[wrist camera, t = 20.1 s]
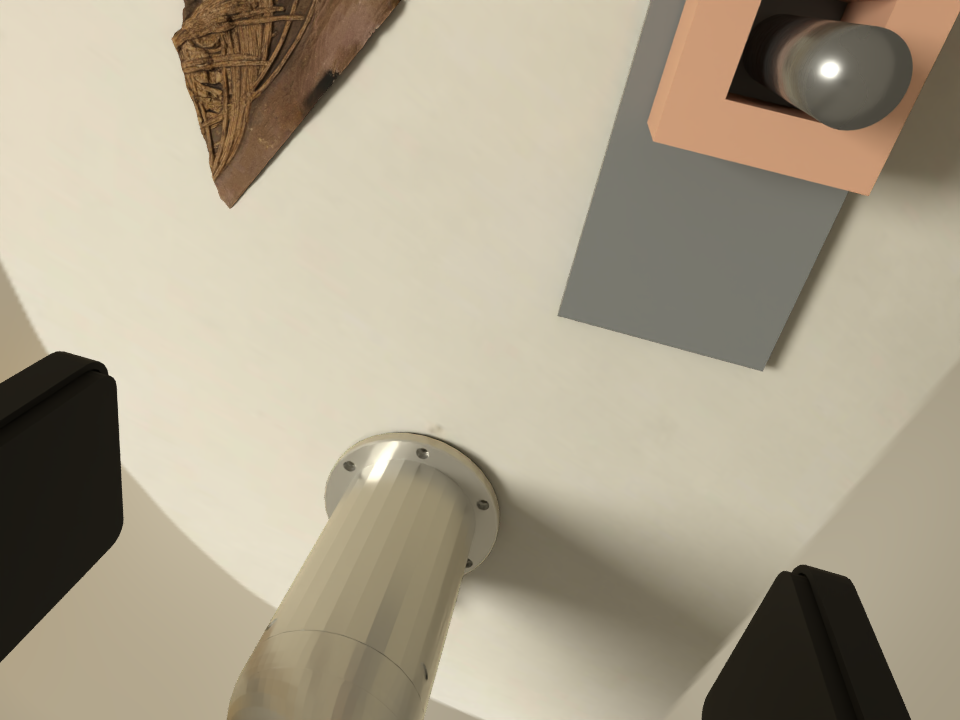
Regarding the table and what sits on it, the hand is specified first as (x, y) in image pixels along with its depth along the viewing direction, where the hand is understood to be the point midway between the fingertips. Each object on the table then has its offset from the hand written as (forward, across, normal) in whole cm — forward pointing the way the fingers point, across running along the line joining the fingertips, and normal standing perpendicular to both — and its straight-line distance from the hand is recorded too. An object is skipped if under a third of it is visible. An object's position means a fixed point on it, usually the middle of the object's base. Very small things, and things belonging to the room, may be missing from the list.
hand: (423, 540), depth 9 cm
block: (+29, -8, -7) cm, 31 cm away
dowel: (+29, -8, -7) cm, 31 cm away
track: (+30, -8, -4) cm, 32 cm away
